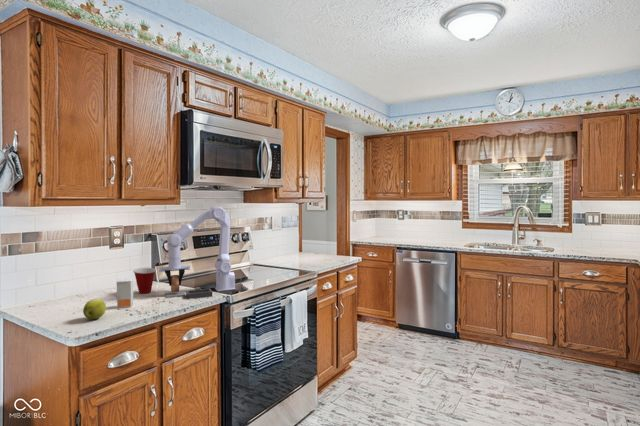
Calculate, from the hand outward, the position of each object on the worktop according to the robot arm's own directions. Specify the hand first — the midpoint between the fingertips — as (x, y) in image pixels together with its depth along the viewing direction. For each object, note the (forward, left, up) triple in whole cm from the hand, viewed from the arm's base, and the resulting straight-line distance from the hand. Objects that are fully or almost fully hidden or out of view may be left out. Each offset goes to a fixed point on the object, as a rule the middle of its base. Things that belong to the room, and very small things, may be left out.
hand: (175, 285), depth 206 cm
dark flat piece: (-10, +8, -5) cm, 14 cm away
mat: (0, 0, -5) cm, 5 cm away
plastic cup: (+14, -12, -5) cm, 19 cm away
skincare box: (+23, +13, -5) cm, 27 cm away
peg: (0, 0, -3) cm, 3 cm away
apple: (+34, +28, -5) cm, 44 cm away
